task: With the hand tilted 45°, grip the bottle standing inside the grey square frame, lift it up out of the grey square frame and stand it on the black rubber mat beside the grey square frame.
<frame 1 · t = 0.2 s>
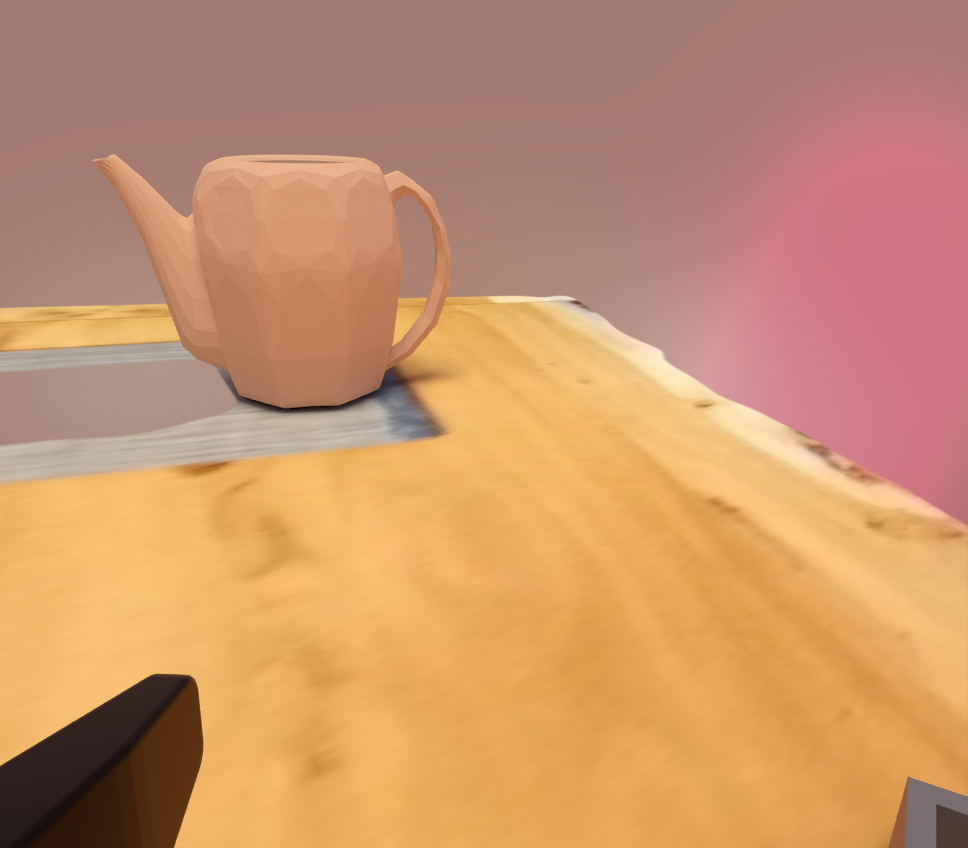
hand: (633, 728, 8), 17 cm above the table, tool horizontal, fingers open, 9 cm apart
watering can: (294, 392, 69), on the table
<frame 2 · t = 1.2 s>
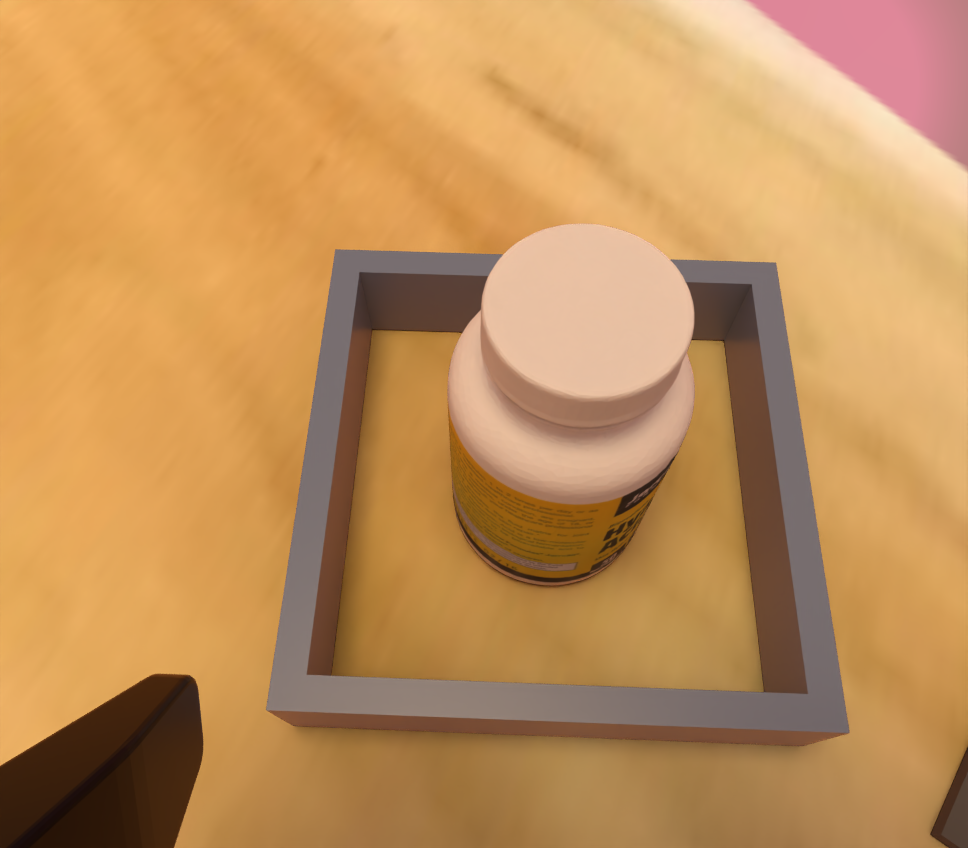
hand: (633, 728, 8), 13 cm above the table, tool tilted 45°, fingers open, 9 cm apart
grey square frame: (547, 498, 24), on the table
supplement bottle: (546, 501, 24), resting in grey square frame
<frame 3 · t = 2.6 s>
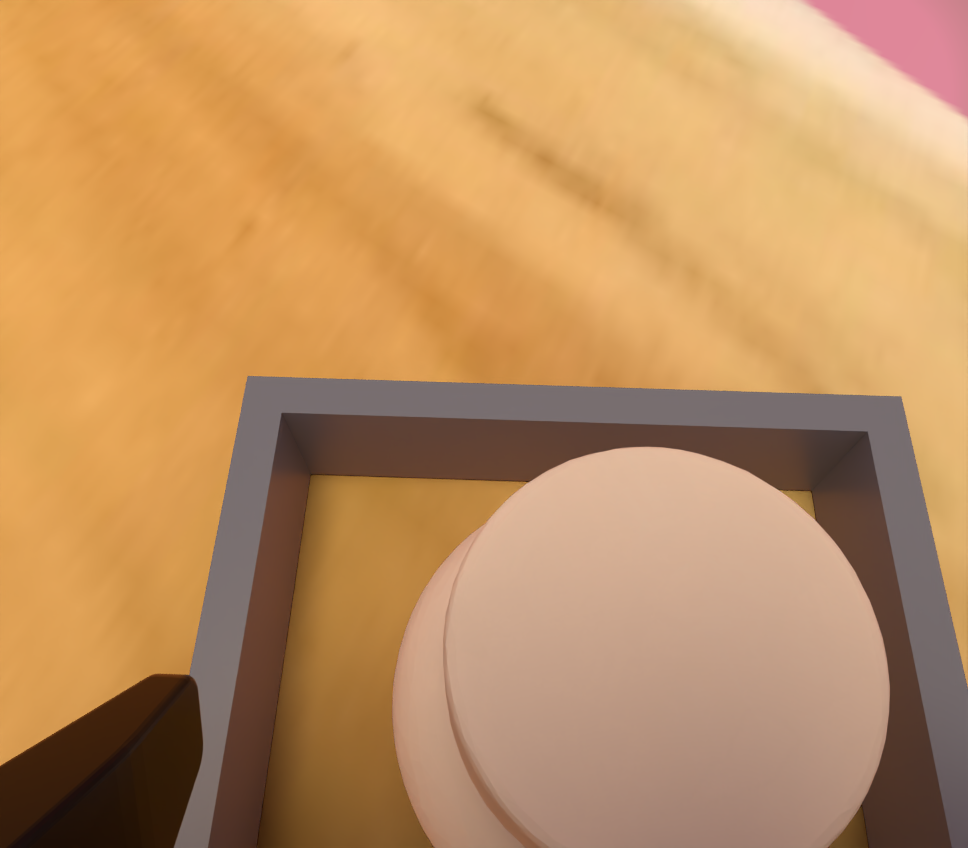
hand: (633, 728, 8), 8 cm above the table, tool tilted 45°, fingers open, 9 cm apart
grey square frame: (562, 751, 16), on the table
supplement bottle: (561, 752, 16), resting in grey square frame
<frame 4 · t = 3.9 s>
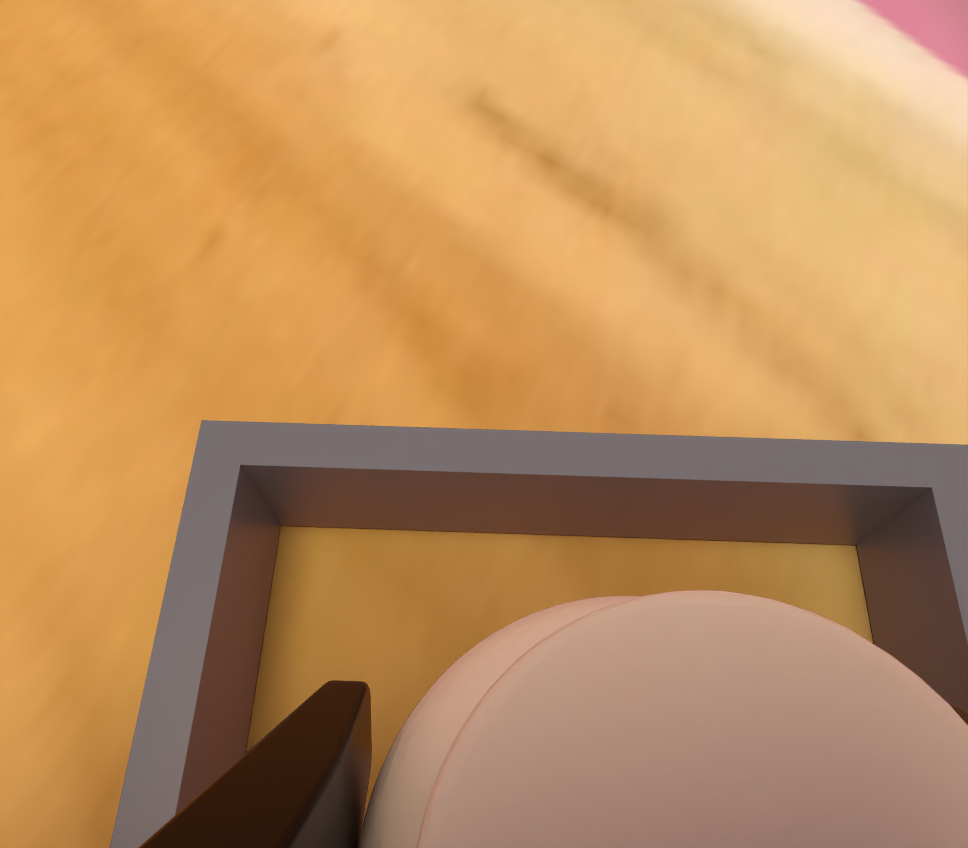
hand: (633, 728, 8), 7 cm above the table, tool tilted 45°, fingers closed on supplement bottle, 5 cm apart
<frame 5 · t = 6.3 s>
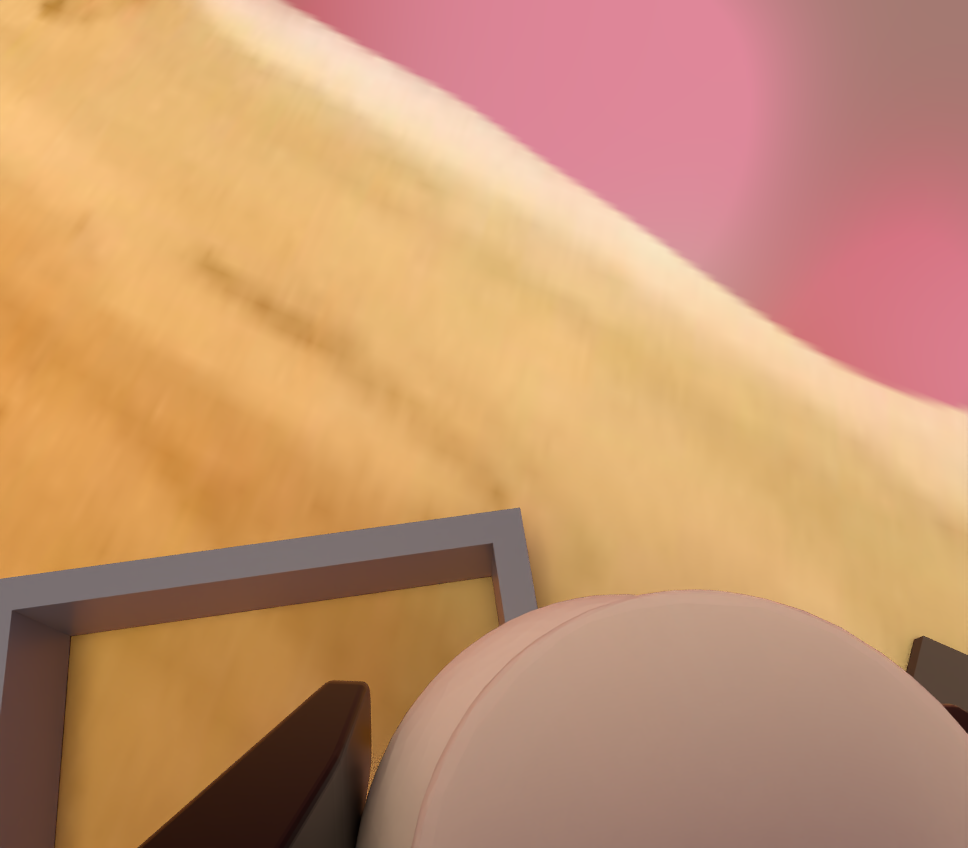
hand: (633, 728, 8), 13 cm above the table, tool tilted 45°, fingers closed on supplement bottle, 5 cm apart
grey square frame: (293, 838, 20), on the table
when the fingers open (8 cm above the table, at t = 9.0 s): supplement bottle stays where it is, resting on mat.
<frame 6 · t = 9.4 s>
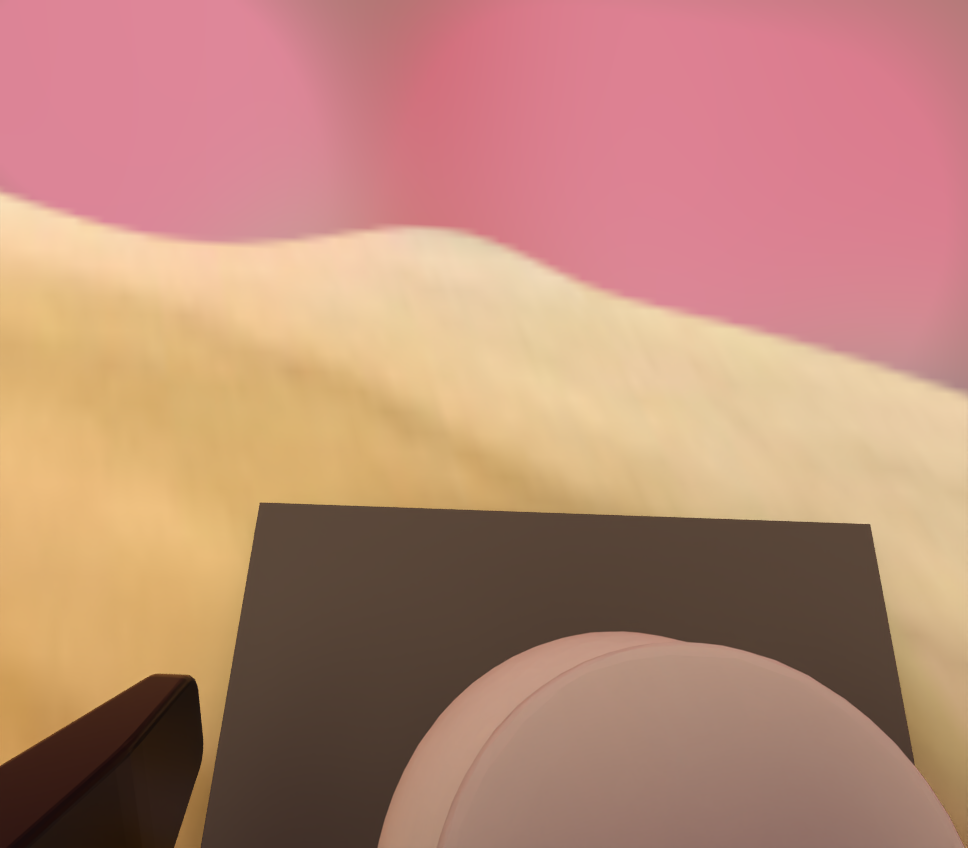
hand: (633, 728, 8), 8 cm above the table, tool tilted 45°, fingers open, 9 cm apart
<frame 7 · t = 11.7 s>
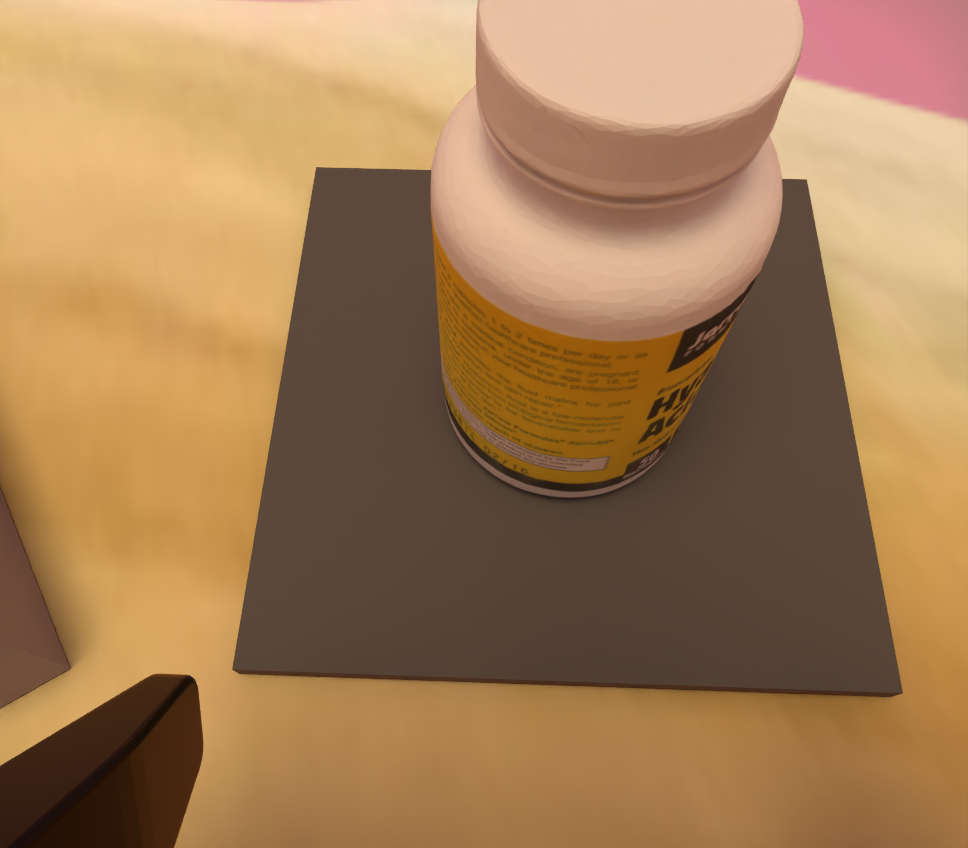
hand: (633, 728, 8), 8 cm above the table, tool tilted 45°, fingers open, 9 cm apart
supplement bottle: (563, 398, 19), resting on mat
mat: (560, 398, 19), on the table
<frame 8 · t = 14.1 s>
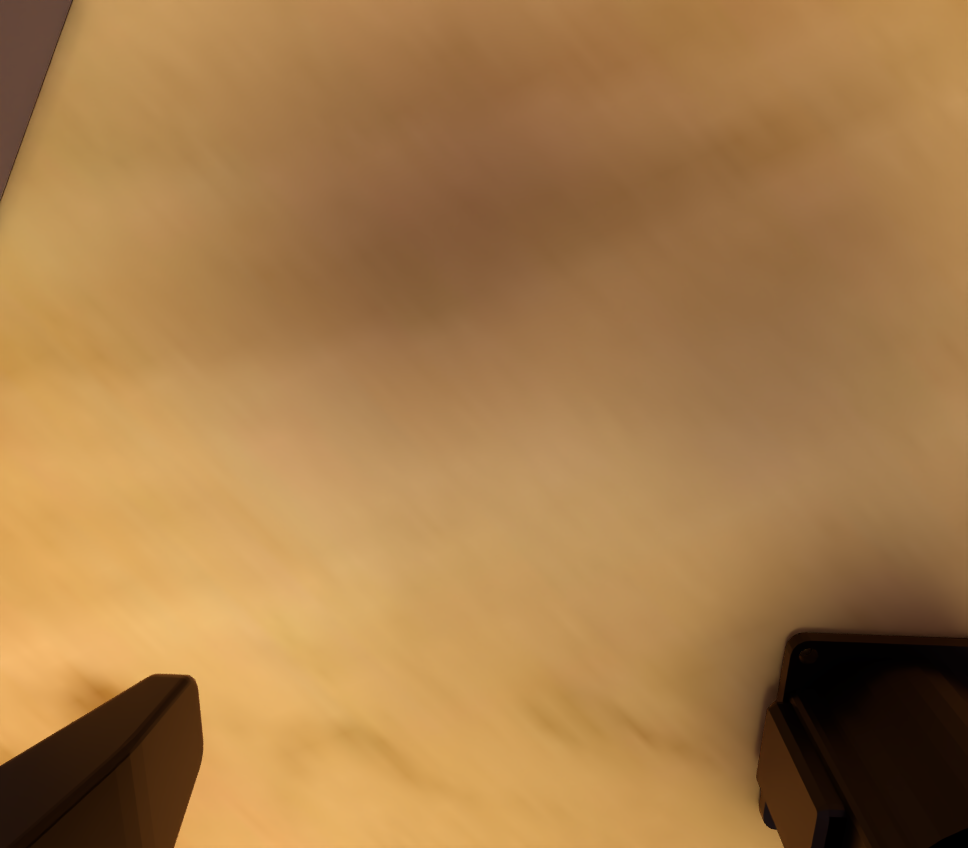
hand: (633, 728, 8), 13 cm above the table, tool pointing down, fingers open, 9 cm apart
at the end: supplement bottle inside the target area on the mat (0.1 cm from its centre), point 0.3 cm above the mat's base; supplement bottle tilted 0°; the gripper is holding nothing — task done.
